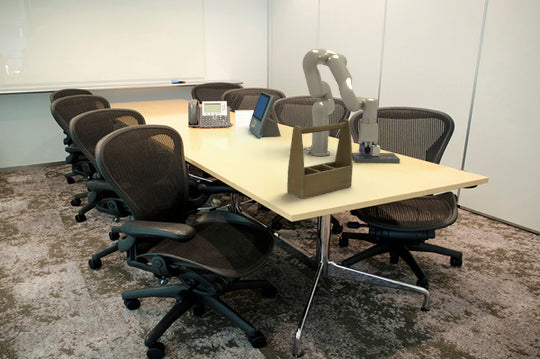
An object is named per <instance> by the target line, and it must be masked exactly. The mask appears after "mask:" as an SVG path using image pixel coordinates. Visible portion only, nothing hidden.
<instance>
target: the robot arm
mask: <svg viewBox="0 0 540 359" xmlns="http://www.w3.org/2000/svg"><path fill="white" fill-rule="evenodd" d="M301 64H302V71H303V73H304V78H305V81H306V85H307V90H308V94H309V95H310V97H311V98H313V99H316V100H317V101H316V102H314V103H313V105H312V108H311V118H312V126H323V125H329V124H330V120H329V115H332V114H333V113H334V111H335V108H336V106H335V104H336V103H335V101H334V97H333V94H332V90H331V87H330V85H329V83H328V82H327V81H324V80H322V77H321V73H320V69H319V68H318V65H323V66H325V67H327V68H328V69H329V71H330V73H331V74H332V76H333V78H334V80H335V82H336V84H337V86H338V91H339V95H340V99H341V100H342V102H343V104H344V106H345V107H346V109H347V110H348V111H349V112H351V113H356V112H360V111H362V118H359V122H361V124H360V127H359V131H358V132H359V133H358V141H357V142H358V144H363V145H364V146H365V149H364V152H365V153H366V154H369V152H370V148H371V146H372V145H373V144H376V143H377V144H378V143H379V124H378V123H377V120H378V119H377V118H378V106H379V105H378V104H379V100H378V98H375V97H363V96H362V97H361V96H356V94H355V92H354V90H353V85H352V84H353V83H352V82H353V76H352V75H351V73H350V72H349V69H348V68H347V65H348V59H347V57H346V56H345V55H344V54H341V53H338V52H337V53H336V52H333V51H331V50H328V49H324V48H312V49H310V50H309V51H307V52H306V53H305V55H304V56H303V59H302V63H301ZM312 126H311V127H312ZM329 131H330V130H328V131H321V132H315V133H311V145H310V146H308V147H307V146H303V151H307V152H308V154H309V155H310V156H313V157H326V156H327V157H328V156H330V155H331V151H329V150H328V149H329V133H330V132H329ZM367 142H369V144H368V146H367Z"/></svg>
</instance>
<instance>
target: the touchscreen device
mask: <svg viewBox="0 0 540 359" xmlns="http://www.w3.org/2000/svg"><path fill="white" fill-rule="evenodd" d="M275 102H276V96H275V95H272V94H270V93H267V92H266V91H261V93H260V94H259V97H258V100H257V102H256V105H255V108H254V110H253V112H252V115H251V118H250V121H249V125H248V127H249V131H250V132H251V133H252V134H254V135H255V136H256V138H259V139H261V138H262V137H282V135H281V132H280V129H279V125H278V122H277V121H275V120H274V119H272V118H270V113H271V111H272V109H273V106H274V104H275Z"/></svg>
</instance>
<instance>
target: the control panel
mask: <svg viewBox="0 0 540 359" xmlns="http://www.w3.org/2000/svg"><path fill="white" fill-rule="evenodd" d="M352 161H354V162H355V164H400V162H401V158H399V157H398V156H397V154H395V153H394V152H380V156H372V155H371V153H369V154H366V153H362V152H352Z"/></svg>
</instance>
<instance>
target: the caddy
mask: <svg viewBox="0 0 540 359" xmlns="http://www.w3.org/2000/svg"><path fill="white" fill-rule="evenodd" d="M351 128H352V127H351V121H350V119H347V118H344V119H342V121H341V122H338V123H337V122H336V123H329V125H323V126H307V127H306V126H305V127H301V126H300V125H294V126H293V128H292V134H291V135H292V136H291V142H290V143H291V144H290V150H289V157H288V166H287V183H286V184H287V189H286V190H287V194H290V195H292V196H295V197H296V196H297V198H300V199H302V200H304V199H307V198H312V197H315V196H320V195H323V194H327V193H331V192H334V191H335V192H337V191H339V190H343V189H346V188H350V187H352V185H353V184H352V182H353V181H352V180H353V177H352V176H353V163H354V162H353V158H352V153H353V145H352V129H351ZM328 130H329V131H334V130H340V132H339V135H338V136H339V137H338V141H337V148H336V154H335V159H334V161H328V162H324V163H319V164H314V165H310V166H305V156H304V145H303V135H305V134H306V135H307V134H312V133H315V132H321V131H328Z"/></svg>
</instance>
